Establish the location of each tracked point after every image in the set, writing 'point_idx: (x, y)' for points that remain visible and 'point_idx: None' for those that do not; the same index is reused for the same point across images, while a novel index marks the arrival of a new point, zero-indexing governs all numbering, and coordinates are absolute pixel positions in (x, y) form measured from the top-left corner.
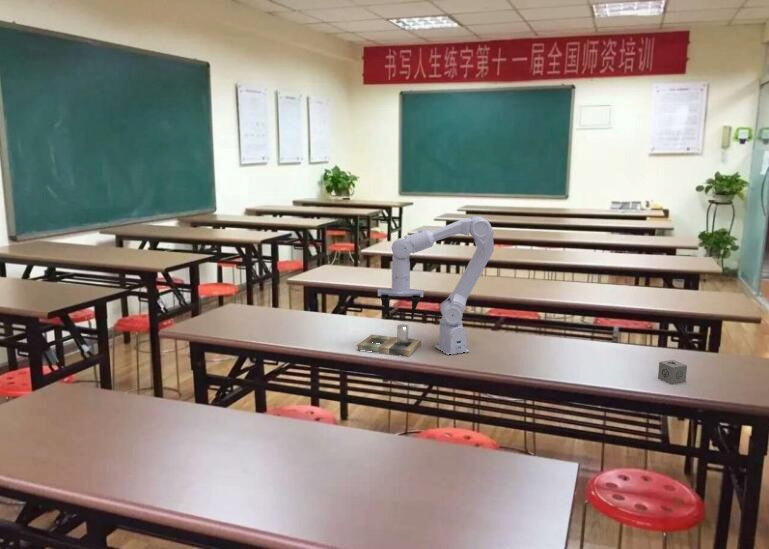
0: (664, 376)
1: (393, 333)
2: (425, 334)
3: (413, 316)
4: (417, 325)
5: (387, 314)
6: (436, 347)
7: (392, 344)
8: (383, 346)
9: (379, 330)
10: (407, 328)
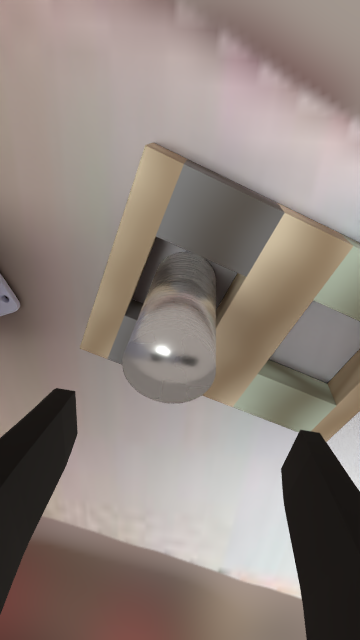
0: None
1: (205, 472)
2: (79, 449)
3: (36, 406)
4: (112, 521)
5: (337, 467)
6: (4, 282)
7: (247, 288)
8: (314, 254)
9: (255, 503)
10: (133, 334)
